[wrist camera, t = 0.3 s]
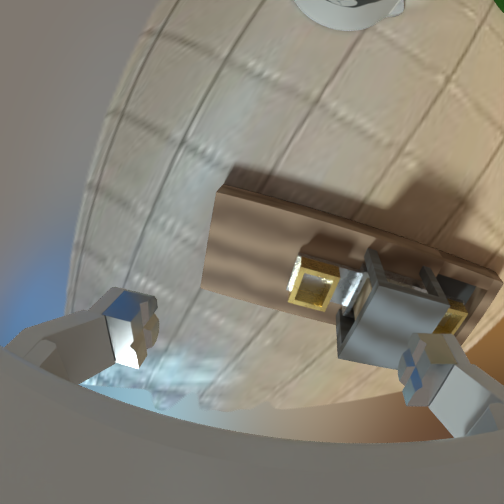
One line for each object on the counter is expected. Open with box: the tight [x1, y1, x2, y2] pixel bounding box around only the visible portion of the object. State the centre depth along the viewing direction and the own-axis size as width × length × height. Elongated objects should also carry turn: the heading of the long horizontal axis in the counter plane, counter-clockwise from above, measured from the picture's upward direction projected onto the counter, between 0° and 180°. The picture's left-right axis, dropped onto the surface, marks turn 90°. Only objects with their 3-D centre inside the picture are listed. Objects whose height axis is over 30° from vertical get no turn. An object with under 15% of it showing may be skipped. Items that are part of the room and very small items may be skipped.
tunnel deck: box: [200, 184, 503, 370], centre depth 46 cm, size 18×54×14 cm, turn 78°
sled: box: [286, 252, 468, 335], centre depth 46 cm, size 9×32×4 cm, turn 78°
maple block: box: [353, 278, 372, 320], centre depth 45 cm, size 6×9×6 cm, turn 77°
